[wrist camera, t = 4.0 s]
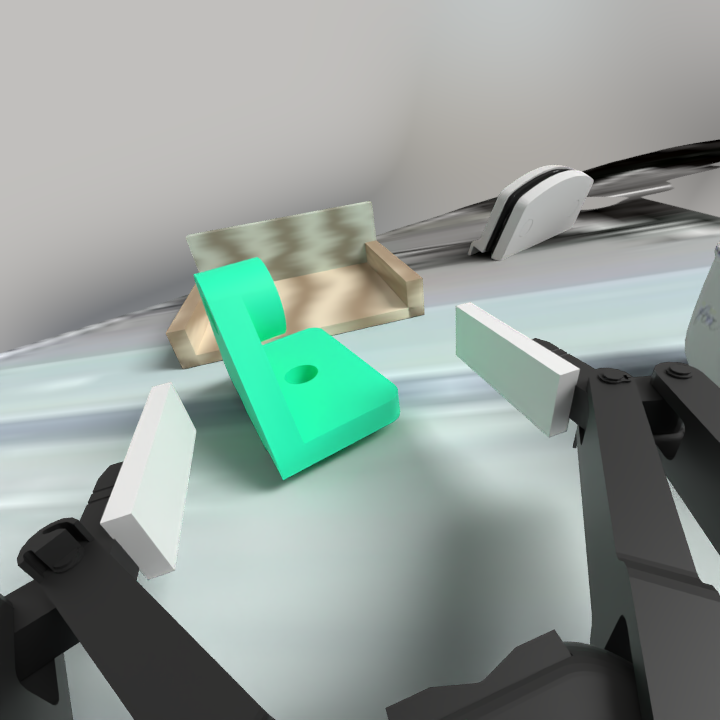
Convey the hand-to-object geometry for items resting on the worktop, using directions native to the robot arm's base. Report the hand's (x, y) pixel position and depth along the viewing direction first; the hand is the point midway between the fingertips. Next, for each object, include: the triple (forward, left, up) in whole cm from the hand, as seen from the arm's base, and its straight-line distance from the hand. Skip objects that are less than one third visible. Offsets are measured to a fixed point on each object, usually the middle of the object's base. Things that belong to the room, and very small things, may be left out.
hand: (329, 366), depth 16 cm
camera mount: (-2, +6, -6) cm, 9 cm away
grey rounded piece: (+30, +29, -6) cm, 42 cm away
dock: (-1, +25, -6) cm, 26 cm away
